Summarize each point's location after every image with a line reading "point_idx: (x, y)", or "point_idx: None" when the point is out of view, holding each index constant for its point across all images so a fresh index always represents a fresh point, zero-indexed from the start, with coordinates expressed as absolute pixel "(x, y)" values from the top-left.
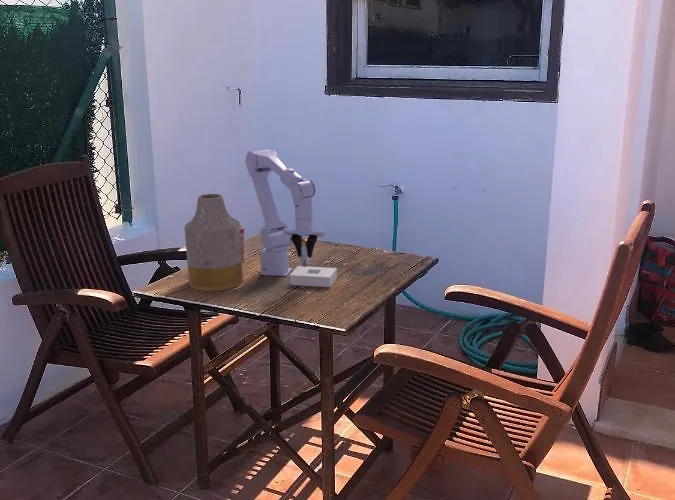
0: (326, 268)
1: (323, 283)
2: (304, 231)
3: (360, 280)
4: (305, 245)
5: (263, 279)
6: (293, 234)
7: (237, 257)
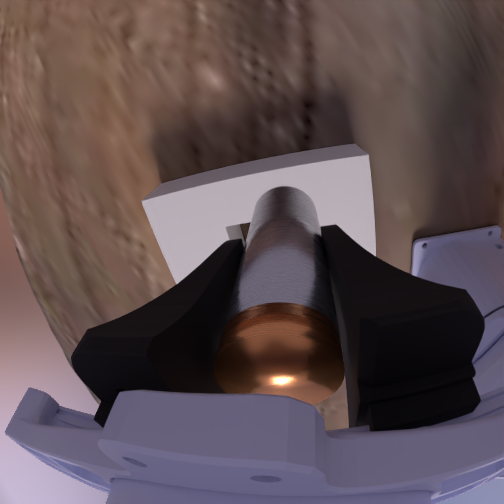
0: None
1: (184, 180)
2: (149, 500)
3: (119, 287)
4: (243, 297)
5: (482, 182)
6: (457, 410)
7: None
